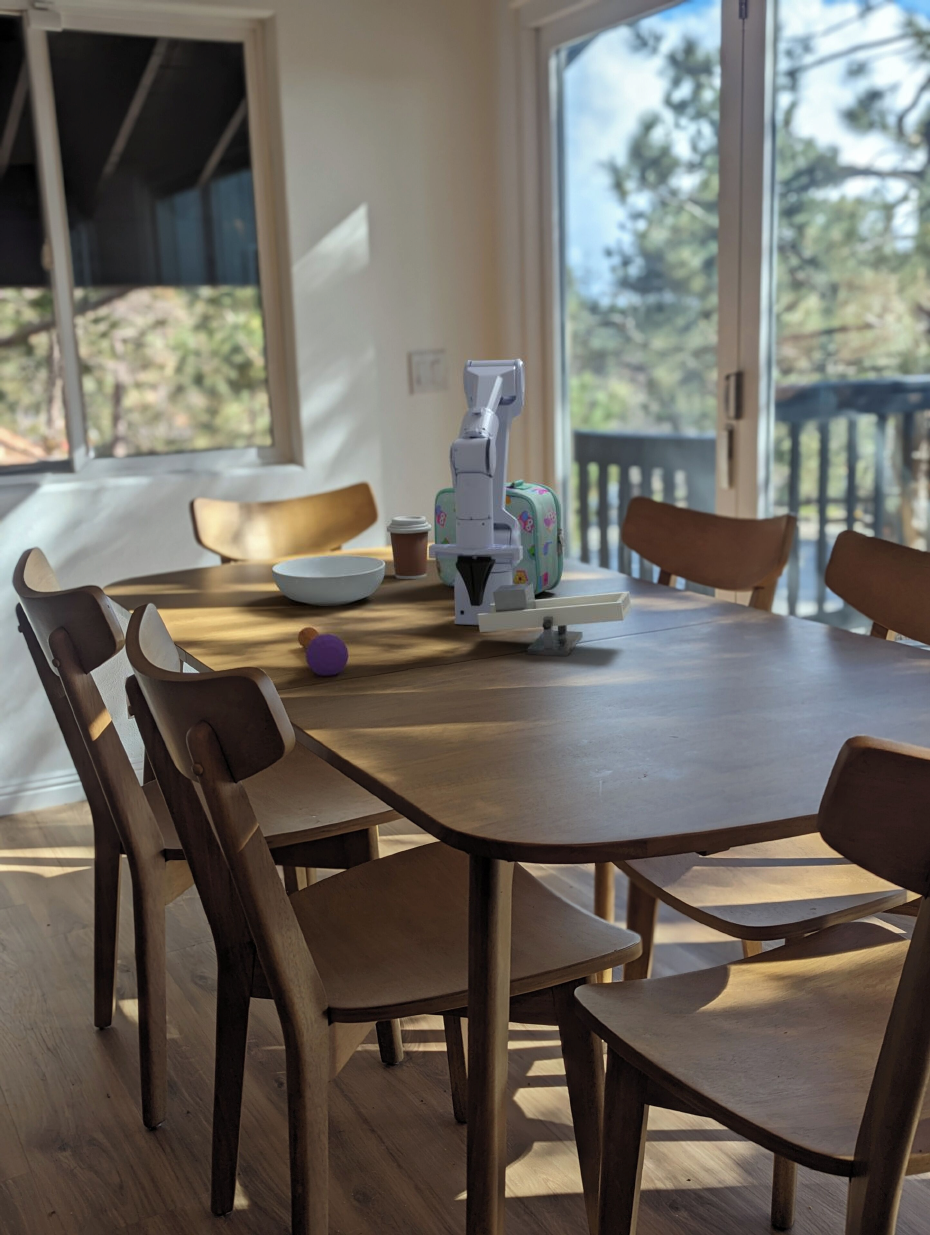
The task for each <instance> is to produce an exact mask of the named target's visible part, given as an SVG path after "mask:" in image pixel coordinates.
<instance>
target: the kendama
mask: <svg viewBox="0 0 930 1235" xmlns="http://www.w3.org/2000/svg"><path fill="white" fill-rule="evenodd" d="M297 641H298V643H299V645H301V647H303V648H305V649H306V651H305V662H306V663H307V665H308V667H309V669H310V670H311V671H313V673H315V674H316V675H318V676H321V677H329V676H330V677H331V676H335V675H338V674H339V673H341V672H342V671H343V670H344V668H345V667H346V665H347V663H348V660H349V649H348V648H347V646H346V643H345V642H344V641H343V640H341V639H340V638H339V637H338V636H336V635H335V634H334V635H333V634H330V633H325V634H319V633H318V630H316V628H314V627H311V626H309V627H304V628H302V629H301V630H300V631H299V632H298V635H297Z"/></svg>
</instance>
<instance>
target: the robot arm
mask: <svg viewBox="0 0 930 1235" xmlns="http://www.w3.org/2000/svg"><path fill="white" fill-rule="evenodd" d="M525 369H526V368H525V364H524V362H523V361H522V360H521V358H516V359H499V360H498V359H493V360H492V359H491V360H472V359H468V360H467V361H466V362H465V363H464V365H463V370H462V372H463V373H462V385H463V390H464V394H465V398H466V403H467V407H468V410H467V411H466V412H465V413H464V415H463V417H462V421H461V426H460V429H459V434H458V437H457V439H456V440H455V442H454V441H452V442H451V444H450V446H449V456H448V458H449V467H450V472H451V480H452V481H451V482H452V487H453V488H455V508H456V541H457V544H435V543H432V544H430V545H428V559H436V558H457V562H456V563H455V565H456V568H457V570H458V571H457V573H456V577H455V585H454V586H453V588H454V589H453V590H454V617H455V618H454V622H453V624H455V625H467V626H468V625H469V626H470V625H471V626H479V622H478V614H482V613H491V607H490V605H491V604H495V602H494V595H493V592H494V591H495V590H497V589H498V588H499V587H501V586H504V585H512V568H513V567H516V566H517V565H518V564H519V563H520V560H521V559H522V558H523V546H521V536H520V531H521V530H520V525H519V523H518V520H517V519H516V518H515V517H513V516H512V515H511V514H509V513H508V512H507V511H505V502H506V483H508V482H507V479H508V464H509V463H508V461H509V460H508V459H509V446H510V445H509V443H510V442H509V440H510V432H511V428H512V424H513V419H514V418H516V417H518V416H519V415H521V414H522V413H523V408H524V405H525V391H526V390H525V389H526V370H525Z"/></svg>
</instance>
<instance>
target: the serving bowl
mask: <svg viewBox="0 0 930 1235" xmlns="http://www.w3.org/2000/svg"><path fill="white" fill-rule="evenodd" d="M385 572H386V563H385V561H384V560H382V559H380V558H377V557H372V556H365V555H354V554H353V555H349V554H338V555H335V554H334V555H330V554H329V555H315V556H306V557H299V558H294V559H293V558H292V559H290V560H285V561H282V562H278V563H276V564H275V565H273V566H272V568H271V573H272V577H273V580H274V583H275V585H276V587H277V589H278V590H279V591H280V593H282V594H283V595H284V596H285V597H287V598H289V599H290V600H294V601H295V602H300V603H304V604H308V605H311V606H317V605H318V606H321V607H329V606H330V607H332V606H342V605H343V606H344V605H348V604H351V603H353V602H355V601H358V600H362V599H364V598H366V597H368V596H371V595H372V594H373V593H374V592H376V591H377V589H379V587H380V586H381V584H382V583H383V580H384V577H385Z"/></svg>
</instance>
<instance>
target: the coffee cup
mask: <svg viewBox="0 0 930 1235" xmlns="http://www.w3.org/2000/svg"><path fill="white" fill-rule="evenodd" d="M429 531H432V525H431V524H430V523H429V522H428V521H427V518H426V516H423V515H403V516H402V515H401V516H400V515H399V516H395V517H392V518H391V523H390V524H389V525H388V526H386V532H387V533H389V534H390V542H391V543H390V544H391V550H392V560H393V567H394V575H395V577H396V578H395V579H399V580H419V579H420V580H421V579H424V578H426V577H427V570H428V569H427V564H428V549H429V545H428V543H429V541H428V540H429Z"/></svg>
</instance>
